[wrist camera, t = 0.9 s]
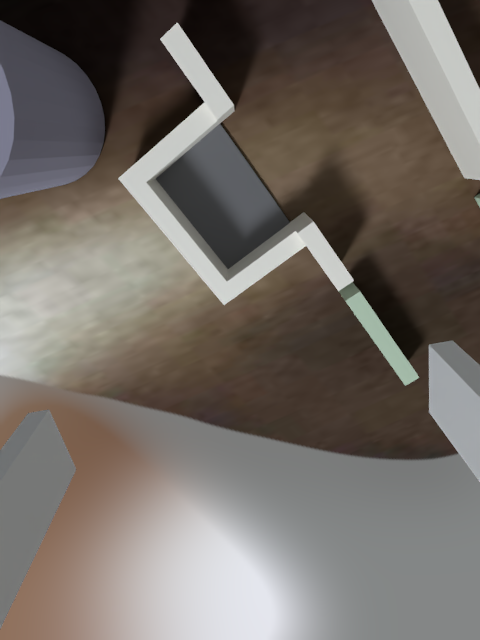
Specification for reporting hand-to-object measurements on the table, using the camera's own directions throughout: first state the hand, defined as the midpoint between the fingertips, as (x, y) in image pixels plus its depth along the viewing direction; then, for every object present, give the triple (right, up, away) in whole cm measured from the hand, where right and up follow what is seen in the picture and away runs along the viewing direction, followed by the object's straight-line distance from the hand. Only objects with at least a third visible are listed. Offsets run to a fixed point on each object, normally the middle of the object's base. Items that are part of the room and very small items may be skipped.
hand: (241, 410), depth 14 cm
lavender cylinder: (-16, +19, +19) cm, 32 cm away
